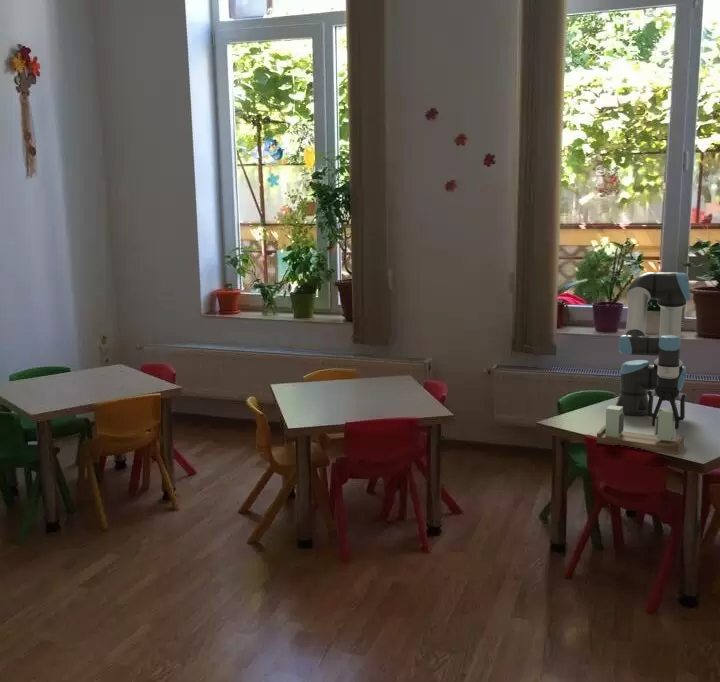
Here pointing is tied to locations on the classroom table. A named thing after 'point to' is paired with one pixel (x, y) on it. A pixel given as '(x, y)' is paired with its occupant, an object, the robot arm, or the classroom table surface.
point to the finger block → (664, 424)
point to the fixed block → (614, 421)
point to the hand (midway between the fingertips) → (664, 435)
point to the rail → (642, 441)
